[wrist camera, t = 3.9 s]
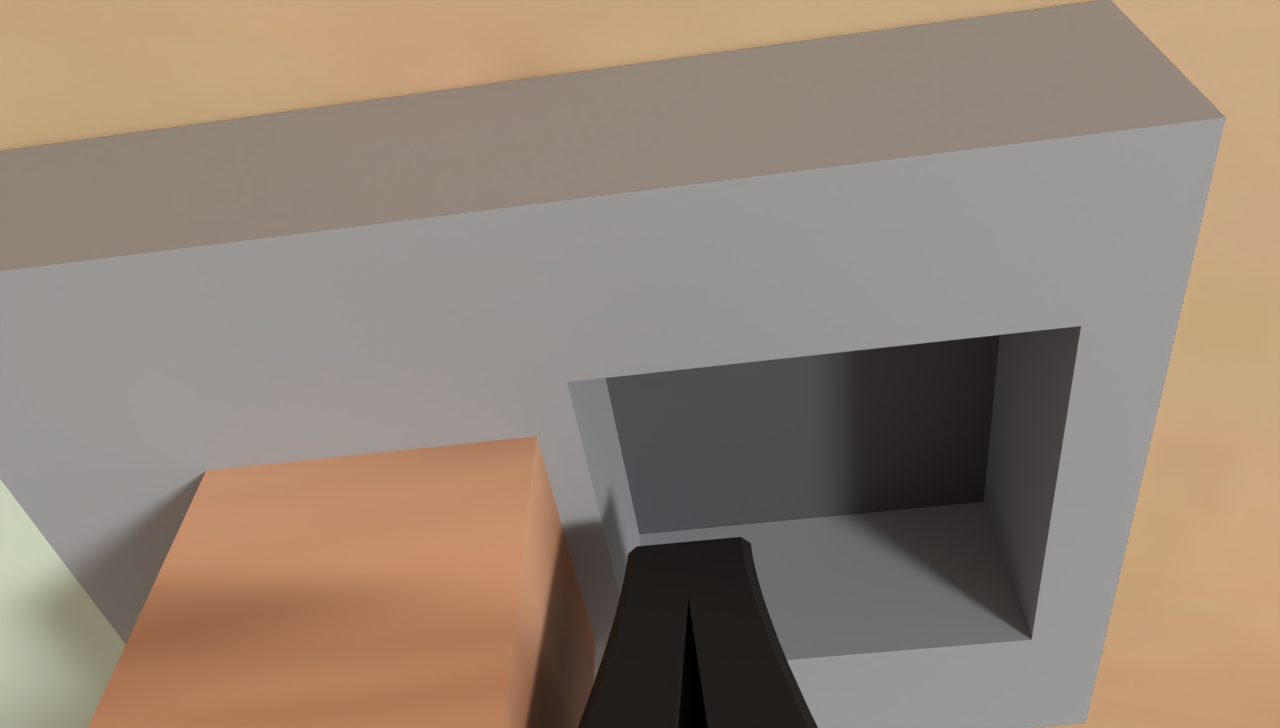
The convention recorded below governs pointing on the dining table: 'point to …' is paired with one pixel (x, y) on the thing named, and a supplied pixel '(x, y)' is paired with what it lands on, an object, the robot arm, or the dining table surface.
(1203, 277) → the dining table surface
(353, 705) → the block
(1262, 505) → the dining table surface
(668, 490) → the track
